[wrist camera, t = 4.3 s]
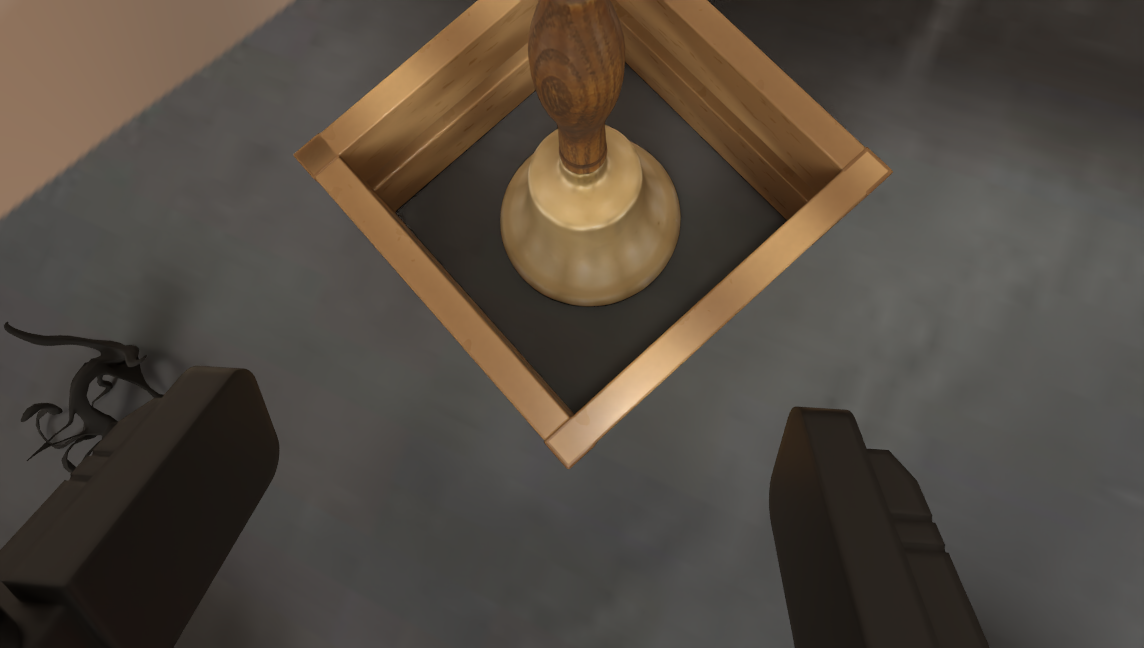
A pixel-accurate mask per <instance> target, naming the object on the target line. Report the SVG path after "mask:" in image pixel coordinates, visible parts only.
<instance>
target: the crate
mask: <svg viewBox="0 0 1144 648" xmlns="http://www.w3.org/2000/svg"><path fill="white" fill-rule="evenodd" d="M538 1H539V0H478V1H476V2H475V3H474V4H473V5H472V6H471V7H469V8H468V9H467V10H466V11H465V12H463V13H462V14H461V15H460V16H459V17H458V18H456V19H455V20H454V21H453V22H452V23H450V24H449V25H448V26H447V27H446V28H444V29H443V30H442V31H441V32H440V33H439V34H437V35H436V36H435V37H434V38H433V39H431V40H430V41H429V42H428V43H427V44H426V45H424V46H423V47H422V48H421V49H420V50H418V51H417V52H416V53H415V54H414V55H413V56H411V57H410V58H409V59H408V60H407V61H405V62H404V63H403V64H402V65H401V66H400V67H398V68H397V69H396V70H395V71H394V72H392V73H391V74H390V75H389V76H388V77H387V78H385V79H384V80H383V81H382V82H381V83H379V84H378V85H377V86H376V87H375V88H373V89H372V90H371V91H370V92H369V93H368V94H366V95H365V96H364V97H363V98H362V99H360V100H359V101H358V102H357V103H356V104H355V105H353V106H352V107H351V108H350V109H349V110H347V111H346V112H345V113H344V114H343V115H342V116H340V117H339V118H338V119H337V120H336V121H334V122H333V123H332V124H331V125H330V126H329V127H327V128H326V129H325V130H324V131H323V132H321V133H318V134H317V135H316V136H315V137H313V138H312V139H311V140H310V141H309V142H308V143H306V144H305V145H304V146H303V147H302V148H300V149H299V150H298V151H297V152H296V153H295V154H294V157H295V158H296V159H297V160H298V161H299V163H300V164H301V165H302V166H303V167H304V168H305V169H306V171H307V172H308V173H309V174H310V175H311V176H312V177H313V178H314V179H315V180H316V181H317V182H318V183H319V184H321V186H322V187H323V188H324V189H325V190H326V191H327V192H328V194H329V195H330V196H331V197H332V198H333V199H334V200H335V202H336V203H337V204H338V205H339V206H340V207H341V208H342V210H343V211H344V212H345V213H346V214H347V215H348V216H349V218H350V219H351V220H352V221H353V222H354V223H355V224H356V226H357V227H358V228H359V229H360V230H361V231H362V232H363V234H364V235H365V236H366V237H367V238H368V239H369V240H370V242H371V243H372V244H373V245H374V246H375V247H376V249H377V250H378V251H379V252H380V253H381V254H382V255H383V257H384V258H385V259H386V260H387V261H388V262H389V263H390V265H391V266H392V267H393V268H394V269H395V270H396V271H397V273H398V274H399V275H400V276H401V277H402V278H403V279H404V281H405V282H406V283H407V284H408V285H409V286H410V287H411V289H412V290H413V291H414V292H415V293H416V294H417V295H418V297H419V298H420V299H421V300H422V301H423V302H424V303H425V305H426V306H427V307H428V308H429V309H430V310H431V311H432V313H433V314H434V315H435V316H436V317H437V318H438V319H439V321H440V322H441V323H442V324H443V325H444V326H445V327H446V329H447V330H448V331H449V332H450V333H451V334H452V335H453V337H454V338H455V339H456V340H457V341H458V342H459V343H460V345H461V346H462V347H463V348H464V349H465V350H466V351H467V353H468V354H469V355H470V356H471V357H472V358H473V359H474V361H475V362H476V363H477V364H478V365H479V366H480V367H481V369H482V370H483V371H484V372H485V373H486V374H487V375H488V377H489V378H490V379H491V380H492V381H493V382H494V384H495V385H496V386H497V387H498V388H499V389H500V390H501V392H502V393H503V394H504V395H505V396H506V397H507V398H508V400H509V401H510V402H511V403H512V404H513V405H514V406H515V408H516V409H517V410H518V411H519V412H520V413H521V414H522V416H523V417H524V418H525V419H526V420H527V421H528V422H529V424H530V425H531V426H532V427H533V428H534V429H535V430H536V432H537V433H538V434H539V435H540V436H541V437H542V438H543V439H544V443H545V444H546V445H547V446H548V448H549V449H550V450H551V451H552V452H553V453H554V454H555V456H556V457H557V458H558V459H559V460H560V461H561V462H562V464H563V465H564V466H565V467H566V468H567V469H570V468H571V467H572V466H573V465H574V464H576V463H577V462H578V461H579V460H580V459H581V458H582V457H583V456H584V455H585V454H586V453H588V452H589V451H590V450H591V449H592V448H593V447H594V446H595V445H596V443H597V442H598V440H600V439H601V438H602V437H603V436H604V435H605V434H606V433H607V432H608V431H609V430H610V429H612V428H613V427H614V426H615V425H616V424H617V423H618V422H619V421H620V420H621V419H622V418H624V417H625V416H626V415H627V414H628V413H629V412H630V411H631V410H632V409H633V408H634V407H635V406H637V405H638V404H639V403H640V402H641V401H642V400H643V399H644V398H645V397H646V396H647V395H649V394H650V393H651V392H652V391H653V390H654V389H655V388H656V387H657V386H658V385H659V384H661V383H662V382H663V381H664V380H665V379H666V378H667V377H668V376H669V375H670V374H671V373H673V372H674V371H675V370H676V369H677V368H678V367H679V366H680V365H681V364H682V363H683V362H685V361H686V360H687V359H688V358H689V357H690V356H691V355H692V354H693V353H694V352H695V351H697V350H698V349H699V348H700V347H701V346H702V345H703V344H704V343H705V342H706V341H707V340H709V339H710V338H711V337H712V336H713V335H714V334H715V333H716V332H717V331H718V330H719V329H721V328H722V327H723V326H724V325H725V324H726V323H727V322H728V321H729V320H730V319H731V318H733V317H734V316H735V315H736V314H737V313H738V312H739V311H740V310H741V309H742V308H743V307H745V306H746V305H747V304H748V303H749V302H750V301H751V300H752V299H753V298H754V297H755V296H757V295H758V294H759V293H760V292H761V291H762V290H763V289H764V288H765V287H766V286H767V285H769V284H770V283H771V282H772V281H773V280H774V279H775V278H776V277H777V276H778V275H779V274H781V273H782V272H783V271H784V270H785V269H786V268H787V267H788V266H789V265H790V264H791V263H793V262H794V261H795V260H796V259H797V258H798V257H799V256H800V255H801V254H802V253H803V252H805V251H806V250H807V249H808V248H809V247H810V246H811V245H813V244H814V243H815V242H816V241H817V240H818V239H820V238H821V237H822V236H823V235H824V234H825V233H826V232H827V231H829V230H830V229H831V228H832V227H833V226H834V225H835V224H836V223H838V222H839V221H840V220H841V219H842V218H843V217H844V216H845V215H846V214H848V213H849V212H850V211H851V210H852V209H853V208H854V207H855V206H857V205H858V204H859V203H860V202H861V201H862V200H863V199H864V198H866V197H867V196H868V195H869V194H870V193H871V192H872V191H873V190H874V189H875V188H877V187H878V186H879V185H880V184H881V183H882V182H883V181H884V180H885V179H886V178H887V177H888V176H890V175H891V174H892V173H893V171H892V170H891V169H890V168H889V167H888V166H887V165H886V164H885V163H884V162H883V161H882V160H881V159H880V158H878V157H877V156H876V155H875V154H874V153H873V152H872V151H871V150H870V149H869V148H868V147H866V148H865V147H864V146H863V145H862V144H861V143H860V142H859V141H858V140H857V139H856V138H855V137H853V136H852V135H851V134H850V133H849V132H848V131H847V130H846V129H845V128H844V127H843V126H842V125H841V124H839V123H838V122H837V121H836V120H835V119H834V118H833V117H832V116H831V115H830V114H829V113H828V112H827V111H826V110H824V109H823V108H822V107H821V106H820V105H819V104H818V103H817V102H816V101H815V100H814V99H813V98H812V97H810V96H809V95H808V94H807V93H806V92H805V91H804V90H803V89H802V88H801V87H800V86H799V85H798V84H797V83H795V82H794V81H793V80H792V79H791V78H790V77H789V76H788V75H787V74H786V73H785V72H784V71H783V70H782V69H780V68H779V67H778V66H777V65H776V64H775V63H774V62H773V61H772V60H771V59H770V58H769V57H768V56H766V55H765V54H764V53H763V52H762V51H761V50H760V49H759V48H758V47H757V46H756V45H755V44H754V43H753V42H751V41H750V40H749V39H748V38H747V37H746V36H745V35H744V34H743V33H742V32H741V31H740V30H739V29H737V28H736V27H735V26H734V25H733V24H732V23H731V22H730V21H729V20H728V19H727V18H726V17H725V16H724V15H722V14H721V13H720V12H719V11H718V10H717V9H716V8H715V7H714V6H713V5H712V4H711V3H710V2H709V1H707V0H610V1H611V3H612V5H613V7H614V9H615V11H616V13H617V16H618V18H619V21H620V24H621V27H622V31H623V35H624V41H625V62H626V63H627V64H628V65H629V66H630V67H631V68H632V69H633V70H634V71H635V72H636V73H637V74H638V75H639V76H640V77H641V78H642V79H643V80H644V81H645V82H646V83H647V84H648V85H649V86H650V87H651V88H652V89H653V90H654V91H656V92H657V93H658V94H659V95H660V96H661V97H662V98H663V99H664V100H665V101H666V102H667V103H668V104H669V105H670V106H671V107H672V108H673V109H674V110H675V111H676V112H677V113H678V114H679V115H680V116H681V117H682V118H683V119H684V120H685V121H686V122H687V123H688V124H689V125H690V126H691V127H692V128H693V129H694V130H695V131H696V132H697V133H698V134H699V135H700V136H701V137H702V138H703V139H705V140H706V141H707V142H708V143H709V144H710V145H711V146H712V147H713V148H714V149H715V150H716V151H717V152H718V153H719V154H720V155H721V156H722V157H723V158H724V159H725V160H726V161H727V162H728V163H729V164H730V165H731V166H732V167H733V168H734V169H735V170H736V171H737V172H738V173H739V174H740V175H741V176H742V177H743V178H744V179H745V180H746V181H747V182H748V183H749V184H750V185H751V186H752V187H754V188H755V189H756V190H757V191H758V192H759V193H760V194H761V195H762V196H763V197H764V198H765V199H766V200H767V201H768V202H769V203H770V204H771V205H772V206H773V207H774V208H775V209H776V210H777V211H778V212H779V213H780V214H781V215H782V216H783V217H784V218H785V219H786V220H787V221H786V222H785V223H784V224H783V225H782V226H781V227H780V228H779V229H778V230H777V231H775V232H774V233H773V234H772V235H771V236H770V237H769V238H768V239H767V240H766V241H764V242H763V243H762V244H761V245H760V246H759V247H758V248H757V249H756V250H755V251H753V252H752V253H751V254H750V255H749V256H748V257H747V258H746V259H745V260H744V261H742V262H741V263H740V264H739V265H738V266H737V267H736V268H735V269H734V270H733V271H731V272H730V273H729V274H728V275H727V276H726V277H725V278H724V279H723V280H722V281H721V282H719V283H718V284H717V285H716V286H715V287H714V288H713V289H712V290H711V291H710V292H708V293H707V294H706V295H705V296H704V297H703V298H702V299H701V300H700V301H699V302H697V303H696V304H695V305H694V306H693V307H692V308H691V309H690V310H689V311H688V312H686V313H685V314H684V315H683V316H682V317H681V318H680V319H679V320H678V321H677V322H675V323H674V324H673V325H672V326H671V327H670V328H669V329H668V330H667V331H666V332H665V333H663V334H662V335H661V336H660V337H659V338H658V339H657V340H656V341H655V342H654V343H652V344H651V345H650V346H649V347H648V348H647V349H646V350H645V351H644V352H643V353H641V354H640V355H639V356H638V357H637V358H636V359H635V360H634V361H633V362H632V363H630V364H629V365H628V366H627V367H626V368H625V369H624V370H623V371H622V372H621V373H619V374H618V375H617V376H616V377H615V378H614V379H613V380H612V381H611V382H610V383H608V384H607V385H606V386H605V387H604V388H603V389H602V390H601V391H600V392H599V393H598V394H596V395H595V396H594V397H593V398H592V399H591V400H590V401H589V402H588V403H587V404H585V405H584V406H583V407H582V408H581V409H580V410H579V411H578V412H577V413H576V414H574V413H573V412H572V411H571V410H570V409H569V407H568V406H567V405H566V404H565V403H564V402H563V401H562V400H561V398H560V397H559V396H558V395H557V394H556V393H555V392H554V391H553V389H552V388H551V387H550V386H549V385H548V384H547V383H546V382H545V380H544V379H543V378H542V377H541V376H540V375H539V374H538V373H537V371H536V370H535V369H534V368H533V367H532V366H531V365H530V364H529V362H528V361H527V360H526V359H525V358H524V357H523V356H522V355H521V354H520V352H519V351H518V350H517V349H516V348H515V347H514V346H513V345H512V343H511V342H510V341H509V340H508V339H507V338H506V337H505V336H504V334H503V333H502V332H501V331H500V330H499V329H498V328H497V327H496V325H495V324H494V323H493V322H492V321H491V320H490V319H489V318H488V316H487V315H486V314H485V313H484V312H483V311H482V310H481V309H480V307H479V306H478V305H477V304H476V303H475V302H474V301H473V300H472V299H471V297H470V296H469V295H468V294H467V293H466V292H465V291H464V290H463V288H462V287H461V286H460V285H459V284H458V283H457V282H456V281H455V279H454V278H453V277H452V276H451V275H450V274H449V273H448V272H447V270H446V269H445V268H444V267H443V266H442V265H441V264H440V263H439V261H438V260H437V259H436V258H435V257H434V256H433V255H432V254H431V252H430V251H429V250H428V249H427V248H426V247H425V246H424V245H423V244H422V242H421V241H420V240H419V239H418V238H417V237H416V236H415V235H414V233H413V232H412V231H411V230H410V229H409V228H408V227H407V226H406V224H405V223H404V222H403V221H402V220H401V219H400V218H399V217H398V215H397V214H396V212H395V211H396V210H397V209H399V208H400V207H401V206H402V205H403V204H404V203H405V202H407V201H408V200H409V199H410V198H411V197H412V196H414V195H415V194H416V193H417V192H418V191H419V190H421V189H422V188H423V187H424V186H425V185H426V184H427V183H429V182H430V181H431V180H432V179H433V178H434V177H436V176H437V175H438V174H439V173H440V172H441V171H443V170H444V169H445V168H446V167H447V166H448V165H449V164H451V163H452V162H453V161H454V160H455V159H456V158H458V157H459V156H460V155H461V154H462V153H463V152H465V151H466V150H467V149H468V148H469V147H470V146H472V145H473V144H474V143H475V142H476V141H477V140H478V139H480V138H481V137H482V136H483V135H484V134H485V133H487V132H488V131H489V130H490V129H491V128H492V127H494V126H495V125H496V124H497V123H498V122H499V121H500V120H502V119H503V118H504V117H505V116H506V115H507V114H509V113H510V112H511V111H512V110H513V109H514V108H516V107H517V106H518V105H519V104H520V103H521V102H522V101H524V100H525V99H526V98H527V97H528V96H529V95H531V94H532V93H533V92H534V91H535V87H534V84H533V80H532V77H531V72H530V65H529V59H528V36H529V31H530V25H531V21H532V18H533V15H534V12H535V9H536V6H537V4H538Z"/></svg>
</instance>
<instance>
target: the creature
mask: <svg viewBox="0 0 1144 648" xmlns="http://www.w3.org/2000/svg"><path fill="white" fill-rule="evenodd" d="M4 328H5V330H6V331H7V332H8V333H10V334H12V335H14V336H16V337H18V338H20V339H23V340H25V341H28V342H30V343H33V344H37V345H44V346H54V345H81V346H86V347H90V348H93V349H96V350H98V351H100V352H101V356H99V357H97V358H93V359H91V360H90V361H89V362H87V363H84V365H83V366H82V367H81V368H80V370H79V371H78V372H77V374H76V375H75V377H74V378H73V380H72V383H71V387H70V397H69V422H68V424H67V425H66V426H65V427H64V428H62V429H61V430H60V431H59V432H61V431H62V430H64V429H65V428H67V427H68V426H69V425H71V423H72V422H73V419H74V414H75V413H77V414H78V415H79V416H80V417H81V419H82V420H83V422H84V427H83V431H82V432H81V433H80V434H78V435H75V436H73V437H70V438H67V439H65V440H68V439H70V440H69V441H67V442H66V443H65V444H63V445H54V444H57V443H59V442H56V443H53V444H52V443H51V442H49V441H50V440H51V439H52V438H53V437H55V436H56V435H57V434H58V433H59V432H57V433H56V434H55V435H53V436H52V437H51V438H50V439H49V440H47V439H46V438H45V437H44V435H43V434H42V432H41V431H40V426H39V419H40V418H41V417H42V416H44V415H45V414H46V413H47V412H48V413H49V414H52V415H56V414H60V413H62V412H63V411H62V409H61V408H59V407H58V406H56V405H54V404H50V403H38V404H34V405H32V406H31V407H29V408H27V410H26V411H25V412H24V413H23V416H22V418H21V422H24V421H26V420H28V419H29V418H30V417H32V416H33V415H34V414H35V413H36V412H38V411H39V410H40V409H41V410H40V411H39V412H38V414H37V418H36V427H37V429H38V431H39V433H40V435H41V436H42V437H43V439H44V440H45V441H46V443H45V444H44V445H43V446H42V447H41V448H40V449H39V450H38V451H36V452H35V453H34V454H33V455H32V456H31V457H30V458H29V459H31V458H32V457H33V456H34V455H36V454H37V453H39V452H40V451H42V450H44V449H46V448H48V447H50V446H52V447H54V448H57V449H60V448H64V447H65V446H67V445H68V444H70V443H71V442H73V441H74V440H76V439H77V440H76V441H75V443H73V444H72V445H71V446H70V447H69V448H68V450H67V451H66V452H65V454H64V456H63V458H62V463H63V467H64V468H65V469H66V470H67V471H68V472H71V473H72V472H73V471H74V470H75V468H76V467H75V466H74V465H73V464H72V463H71V462H70V461H69V460H68V459H67V456H68V452H69V450H70V449H71V448H72V447H73V445H74V444H76V443H78V442H81V441H83V440H87V439H91V438H95V437H96V436H97V435H102V439H103V438H104V437H105V436H106V435H107V434H108V433H109V432H110V430H111V429H112V428H113V427H114V426H115V425H116V424H117V423H118V422H119V421H116V420H115V419H114V418H112V417H111V416H109V415H106V414H104V413H102V412H100V411H99V410H97V409H95V408H94V407H93V404H94V402H95V401H96V400H98V399H99V398H100V397H102V396H103V395H104V394H106V393H107V392H109V390H110V389H111V388H112V383H111V382H109V381H104V380H102V377H103V375H111V376H113V377H117V378H120V379H123V380H126V381H129V382H131V383H134V384H136V385H138V386H139V387H141V388H143V389H145V390H147V391H148V392H149V393H150V394H151V395H152V396H153V397H154V398H162V397H163V396H164V395H161V394H158V393H157V392H155V391H154V390H153V389H151V388H150V387H149V385H148V384H147V383H146V382H145V380H144V378H143V375H142V373H141V369H140V363H141V362H143V361H144V359H145V358H146V357H147V355H145V356H144V357H143V358H141V359H139V358H138V355H139V349H138V348H137V347H136V346H133V345H128V346H125V345H123V344H121V343H119V342H114V341H103V340H93V339H86V338H80V337H74V336H43V335H37V334H31V333H27V332H24V331H21V330H18V329H15V328H13V327H12V326H10V325H9V324H8V322H6V323H5V325H4ZM96 376H97V379H98V381H97V383H98V384H99V386H102V387H106V389H105V390H104V391H103V392H102V393H101V394H100V395H99V396H98V397H97V398H96V399H95V400H94V401H93V402H92V406H90V404H89V401H88V399H87V396H86V395H87V391H88V387H89V383H90V382H91V381H92V380H93V379H94V378H95V377H96ZM79 437H80V438H79ZM71 438H72V439H71ZM65 440H62V441H65ZM62 441H60V442H62ZM99 442H100V441H99ZM99 442H98V443H99ZM98 443H97V444H96V445H95V446H94V447H93V448H92V449H91V450H90V451H89V452H88V453H87V454H86V456H85V457H84V459H85V458H86V457H87V456H89V455H90V454H91V452H92V451H93V449H94V448H95V447H96V446H97V445H98ZM29 459H28V460H29ZM84 459H83V460H84ZM28 460H27V461H28ZM83 460H82V461H83Z"/></svg>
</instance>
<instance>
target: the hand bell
mask: <svg viewBox="0 0 1144 648" xmlns="http://www.w3.org/2000/svg"><path fill="white" fill-rule="evenodd" d="M528 59H529V65H530V72H531V77H532V80H533V84H534V87H535V90H536V92H537V95H538V97H539V100H540V101H541V103H542V105H543V107H544V109H545V110H546V112H547V113H548V115H549V116H550V117H551V118H552V119H553V120H554V121H555V122H556V123H557V125H558V129H557V130H555V131H554V132H552V133H551V134H550V135H548V136H547V137H546V138H545V139H544V140H543V141H542V142H541V144H540V145H539V146H538V147H537V149H536V151H535V153H534V154H532V155H531V156H530V157H529V158H528V159H527V160H526V161H525V162H524V163H523V164H522V165H521V166H520V167H519V169H518V170H517V171H516V173H515V174H514V176H513V178H512V179H511V181H510V183H509V185H508V187H507V189H506V192H505V195H504V198H503V202H502V207H501V215H500V228H501V236H502V240H503V244H504V247H505V250H506V253H507V255H508V257H509V259H510V261H511V263H512V264H513V266H514V268H515V269H516V271H517V272H518V273H519V274H520V276H521V277H522V278H523V279H524V280H525V281H526V282H527V283H528V284H530V285H531V286H532V287H533V288H534V289H536V290H537V291H538V292H540V293H542V294H543V295H545V296H548V297H550V298H552V299H554V300H557V301H560V302H564V303H567V304H571V305H578V306H602V305H607V304H612V303H615V302H618V301H622V300H624V299H626V298H628V297H630V296H632V295H634V294H636V293H638V292H640V291H642V290H643V289H644V288H645V287H647V286H648V285H649V284H650V283H651V282H652V281H654V280H655V278H656V277H657V276H658V275H659V274H660V273H661V272H662V270H663V269H664V268H665V266H666V265H667V263H668V261H669V260H670V258H671V256H672V254H673V252H674V249H675V247H676V244H677V241H678V237H679V232H680V222H681V214H680V205H679V200H678V196H677V193H676V190H675V187H674V185H673V182H672V180H671V178H670V177H669V175H668V173H667V172H666V170H665V169H664V168H663V166H662V165H661V164H660V163H659V162H658V161H657V160H656V159H655V158H654V157H653V156H652V155H651V154H650V153H648V152H647V151H646V150H644V149H643V148H641V147H640V146H638V145H637V144H635V143H633V142H630V141H629V140H628V139H627V138H626V137H625V136H624V135H623V134H621V133H620V132H619V131H617V130H615V129H613V128H611V127H609V126H606V125H605V120H606V118H607V117H608V116H609V114H610V113H611V111H612V109H613V108H614V106H615V104H616V102H617V99H618V96H619V94H620V90H621V86H622V82H623V77H624V67H625V41H624V35H623V31H622V27H621V24H620V21H619V18H618V16H617V13H616V11H615V9H614V7H613V5H612V3H611V1H610V0H539V1H538V4H537V6H536V9H535V12H534V15H533V18H532V21H531V25H530V31H529V36H528Z"/></svg>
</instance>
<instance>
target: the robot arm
mask: <svg viewBox="0 0 1144 648" xmlns="http://www.w3.org/2000/svg"><path fill="white" fill-rule="evenodd" d="M278 460H279V442H278V438H277V435H276V432H275V429H274V427H273V424H272V421H271V419H270V416H269V413H268V411H267V408H266V405H265V402H264V400H263V397H262V394H261V392H260V389H259V386H258V384H257V381H256V379H255V376H254V375H253V374H252V373H251V372H250V371H249V370H247V369H241V368H225V367H210V366H193V367H191V368H189V369H188V370H186V371H185V372H184V373H183V374H182V375H181V376H180V377H179V379H178V380H177V381H176V382H175V383H174V384H173V385H172V387H171V388H170V389H169V390H168V391H167V392H166V393H165V394H164V396H163V397H162V398H153V399H152V400H150V401H149V402H147V403H146V404H144V405H143V406H141V407H140V408H138V409H137V410H135V411H134V412H132V413H131V414H129V415H128V416H126V417H125V418H123V419H122V420H120V421H119V422H118V423H117V424H116V425H115V426H114V427H113V428H112V429H111V430H110V432H109V433H108V434H107V435H106V436H105V437H104V438H103V439H102V440H101V441H100V442H99V443H98V445H97V446H96V447H95V448H94V449H93V454H92V456H87V457H86V458H85V459H84V460H83V461H82V462H81V463H80V464H79V465H78V466H77V467H76V468H75V470H74V471H73V472H72V473H71V474H70V475H71V478H70V480H69V481H66V480H64V482H63V483H62V484H61V485H60V486H59V487H58V488H57V489H56V490H55V491H54V492H53V493H52V495H51V496H50V497H49V498H48V499H47V500H46V501H45V502H44V503H43V504H42V505H41V507H40V508H39V509H38V510H37V511H36V512H35V513H34V514H33V515H32V516H31V517H30V518H29V520H28V521H27V522H26V523H25V524H24V525H23V526H22V527H21V528H20V529H19V530H18V532H17V533H16V534H15V535H14V536H13V537H12V538H11V539H10V540H9V541H8V542H7V543H6V545H5V546H4V547H3V548H2V549H1V550H0V648H173V647H174V645H175V643H176V642H177V640H178V638H179V637H180V635H181V633H182V632H183V630H184V628H185V627H186V625H187V623H188V621H189V620H190V618H191V616H192V615H193V613H194V611H195V610H196V608H197V606H198V605H199V603H200V601H201V599H202V598H203V596H204V594H205V593H206V591H207V589H208V588H209V586H210V584H211V583H212V581H213V579H214V577H215V576H216V574H217V572H218V571H219V569H220V567H221V566H222V564H223V562H224V561H225V559H226V557H227V555H228V554H229V552H230V550H231V549H232V547H233V545H234V544H235V542H236V540H237V538H238V537H239V535H240V533H241V532H242V530H243V528H244V527H245V525H246V523H247V522H248V520H249V518H250V516H251V515H252V513H253V511H254V510H255V508H256V506H257V505H258V503H259V501H260V500H261V498H262V496H263V494H264V493H265V491H266V489H267V488H268V486H269V484H270V483H271V481H272V479H273V477H274V475H275V472H276V469H277V465H278ZM769 510H770V519H771V525H772V530H773V535H774V540H775V546H776V551H777V556H778V561H779V567H780V572H781V577H782V582H783V588H784V593H785V598H786V603H787V609H788V614H789V619H790V624H791V629H792V635H793V640H794V645H795V648H990V647H989V645H988V643H987V640H986V638H985V636H984V633H983V631H982V629H981V627H980V624H979V622H978V620H977V617H976V615H975V613H974V611H973V608H972V606H971V604H970V601H969V599H968V597H967V594H966V592H965V590H964V588H963V585H962V583H961V581H960V578H959V576H958V574H957V571H956V569H955V567H954V565H953V562H952V560H951V558H950V555H949V553H946V552H945V549H944V547H945V544H944V542H943V539H942V537H941V535H940V532H939V530H938V528H937V526H936V523H933V522H932V514H931V512H930V509H929V507H928V505H927V503H926V500H925V498H924V496H923V493H922V491H921V489H920V486H919V484H918V482H917V480H916V479H915V478H914V477H913V476H912V475H911V474H910V473H909V472H908V471H907V470H906V468H905V467H904V466H903V465H902V464H901V463H900V462H899V461H898V460H897V459H896V458H895V457H894V456H893V454H892V453H891V452H890V451H889V450H878V449H866V446H865V443H864V441H863V438H862V435H861V433H860V430H859V427H858V425H857V422H856V420H855V417H854V416H853V414H852V413H851V412H850V411H849V410H840V409H825V408H809V407H793V408H792V410H791V411H790V414H789V416H788V420H787V423H786V427H785V430H784V434H783V437H782V441H781V444H780V448H779V451H778V455H777V459H776V462H775V466H774V469H773V473H772V477H771V482H770V490H769Z"/></svg>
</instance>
